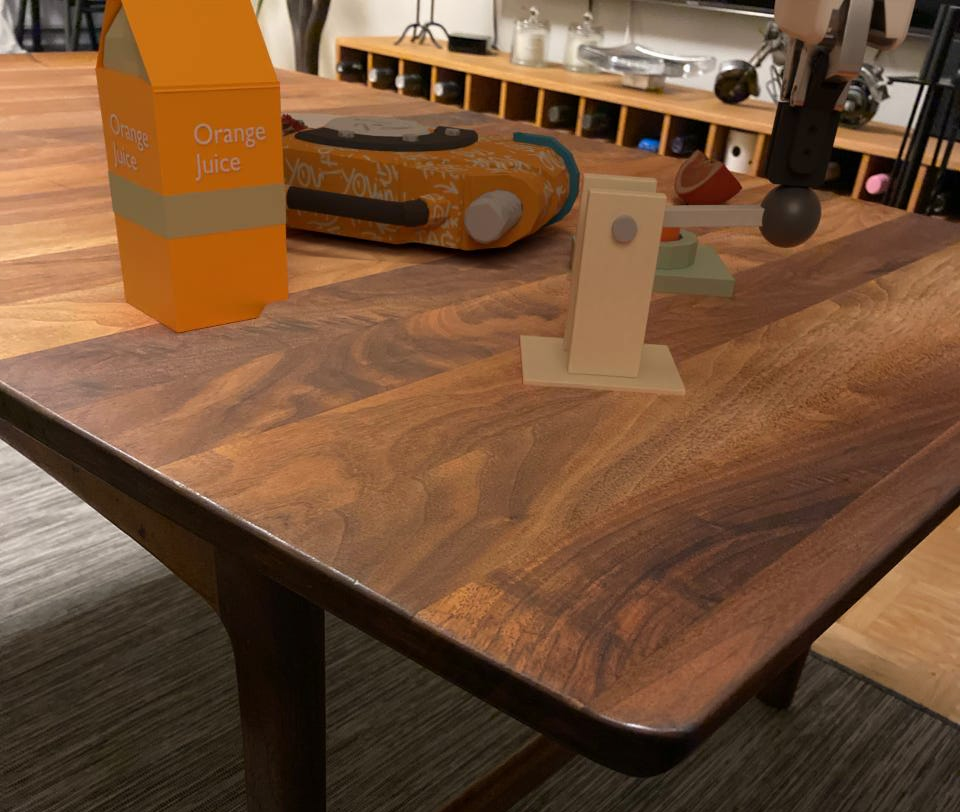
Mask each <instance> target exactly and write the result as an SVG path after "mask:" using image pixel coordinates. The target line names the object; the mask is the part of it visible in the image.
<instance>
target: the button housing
mask: <svg viewBox="0 0 960 812" xmlns="http://www.w3.org/2000/svg"><path fill="white" fill-rule="evenodd" d="M575 238H576V235H572V238H571V247H570V254H569V255H570V256H569V264H570V270H572V263H573V255H574V246H575ZM735 284H736V278H735V277H734V276H733V274H732V272H731V271H730V270H729V268H728V267H727V265H726V264H725V262H724V261H723V260H722V258H721V256H720V255H719V253H718V251H717V250H716V249H715V247H714V246H713V245H710V244H709V245H708V244H699V238H698V237H697V235H696V234H695V233H694V232H691V231H689V230H686V229H683V228H682V227H681V228H680V234H679V240H678V241H669V242H661V241H660V246H659V252H658V258H657V264H656V270H655V276H654V283H653V289H652V293H666V294H681V295H682V294H683V295H693V296H695V295H696V296H707V297H709V296H711V297H723V298H733V295H734V290H735V286H736V285H735Z"/></svg>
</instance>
